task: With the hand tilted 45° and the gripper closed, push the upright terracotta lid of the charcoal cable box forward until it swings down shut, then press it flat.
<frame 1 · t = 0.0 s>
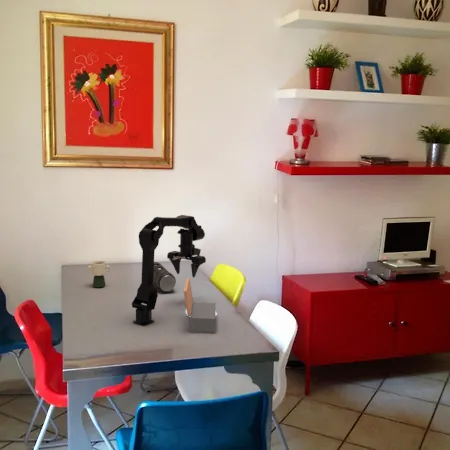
hand: (185, 275, 244), 15 cm above the table, tool pointing down, fingers open, 9 cm apart
muzzle brake: (160, 287, 277), on the table
lid: (188, 296, 222), point 12 cm above the table, hinge at 100.0°
cable box: (203, 323, 224), on the table
trophy cup: (99, 287, 273), on the table
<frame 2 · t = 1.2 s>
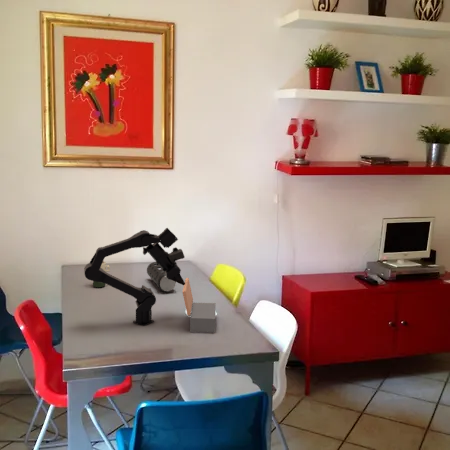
hand: (182, 281, 225), 17 cm above the table, tool tilted 40°, fingers open, 7 cm apart
lid: (188, 296, 222), point 12 cm above the table, hinge at 102.4°
everything else where it was.
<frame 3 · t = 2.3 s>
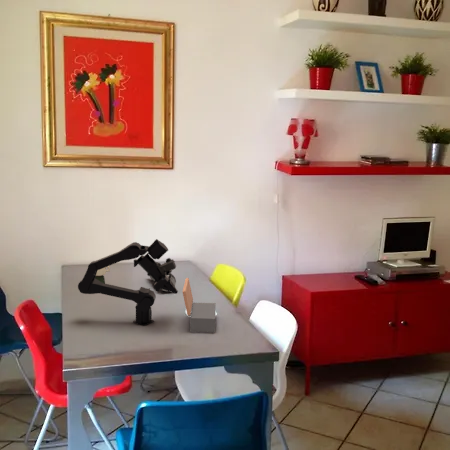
hand: (177, 292, 222), 13 cm above the table, tool tilted 45°, fingers closed
nothing on the table moved.
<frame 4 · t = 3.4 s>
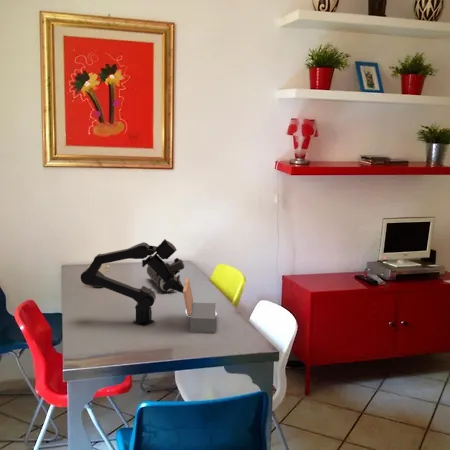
hand: (185, 292, 222), 14 cm above the table, tool tilted 45°, fingers closed, pressing on lid
lid: (188, 296, 222), point 12 cm above the table, hinge at 101.3°, touching gripper
everything else where it was.
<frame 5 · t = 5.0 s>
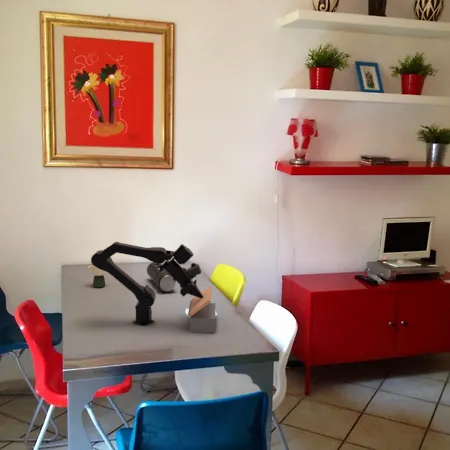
hand: (202, 297, 222), 12 cm above the table, tool tilted 45°, fingers closed, pressing on lid
lid: (199, 301, 222), point 10 cm above the table, hinge at 38.9°, touching gripper
everything else where it was.
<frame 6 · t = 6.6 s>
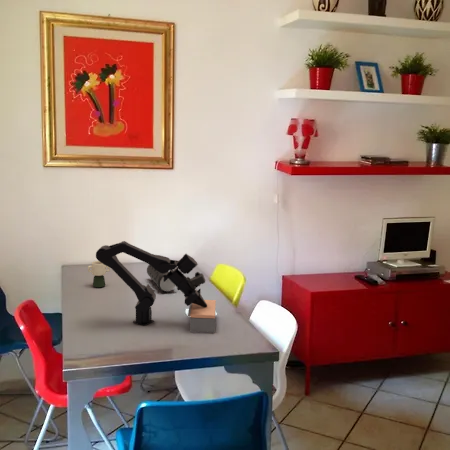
hand: (206, 306, 223), 8 cm above the table, tool tilted 45°, fingers closed, pressing on lid
lid: (202, 308, 223), point 7 cm above the table, hinge at -0.8°, touching gripper
everything else where it was.
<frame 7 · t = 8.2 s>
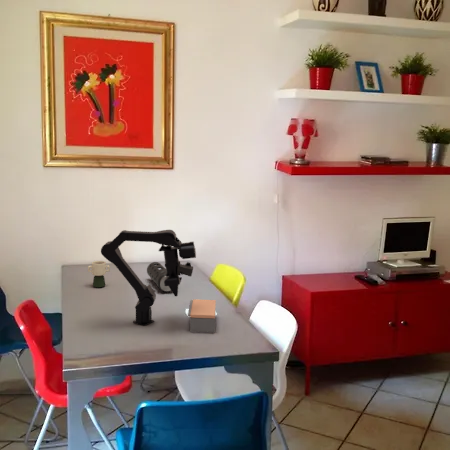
hand: (176, 296, 222), 12 cm above the table, tool pointing down, fingers closed
lid: (202, 308, 223), point 7 cm above the table, hinge at -0.8°
everything else where it was.
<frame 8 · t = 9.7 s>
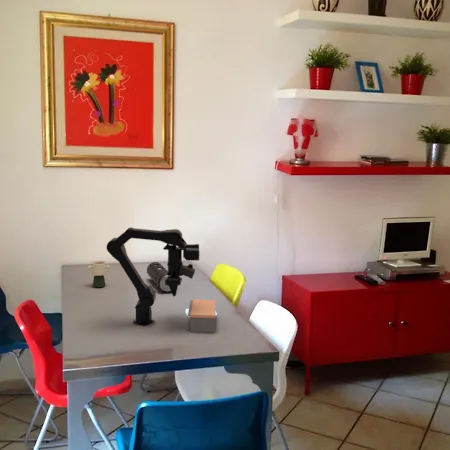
hand: (174, 296, 222), 12 cm above the table, tool pointing down, fingers closed
nothing on the table moved.
at the end: lid at -1° (first picture: +100°) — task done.
